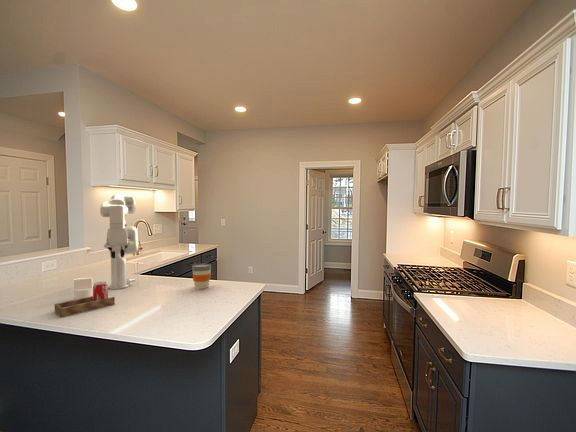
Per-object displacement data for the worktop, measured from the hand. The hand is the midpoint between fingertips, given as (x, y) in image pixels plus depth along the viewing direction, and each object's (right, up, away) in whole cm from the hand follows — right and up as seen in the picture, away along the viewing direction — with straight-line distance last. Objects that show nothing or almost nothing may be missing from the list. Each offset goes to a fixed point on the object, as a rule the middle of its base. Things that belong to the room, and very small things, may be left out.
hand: (117, 257), depth 162 cm
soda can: (-6, -26, -6) cm, 27 cm away
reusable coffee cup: (+40, -25, +28) cm, 55 cm away
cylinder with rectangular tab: (-23, -25, +4) cm, 35 cm away
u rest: (-10, -26, -12) cm, 30 cm away
